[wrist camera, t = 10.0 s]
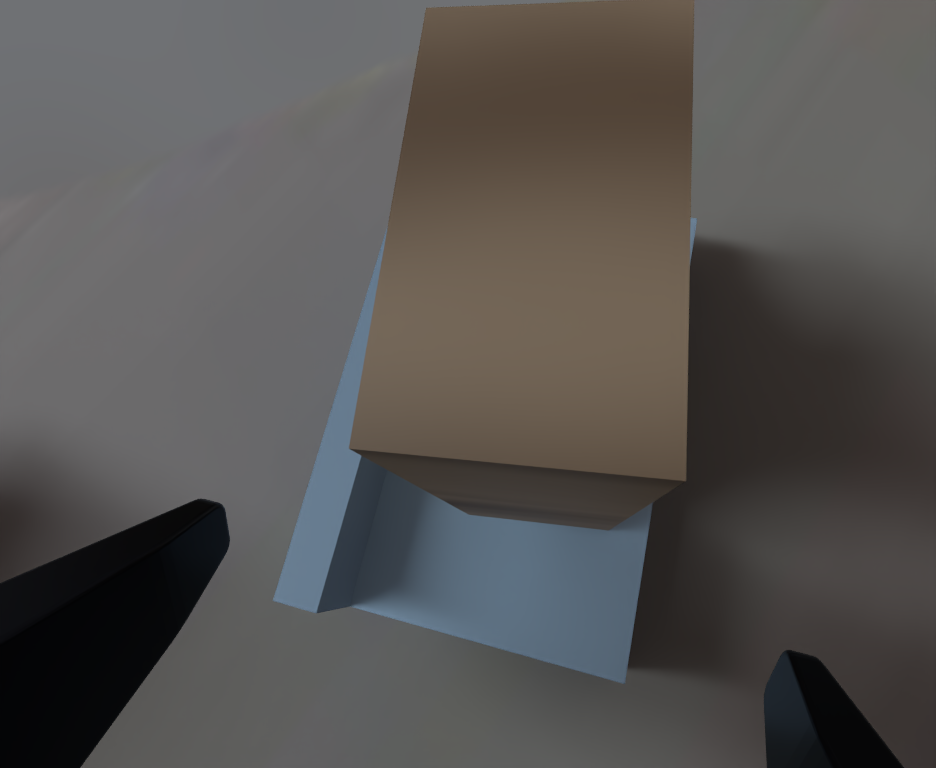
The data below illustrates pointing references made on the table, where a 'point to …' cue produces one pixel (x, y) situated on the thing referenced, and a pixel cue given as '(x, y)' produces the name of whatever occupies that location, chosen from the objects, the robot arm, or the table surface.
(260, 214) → the table surface
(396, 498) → the picture shelf
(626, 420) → the frame block
